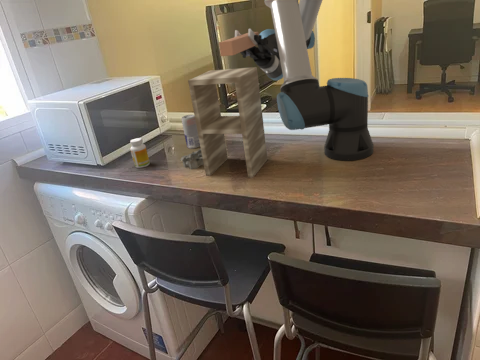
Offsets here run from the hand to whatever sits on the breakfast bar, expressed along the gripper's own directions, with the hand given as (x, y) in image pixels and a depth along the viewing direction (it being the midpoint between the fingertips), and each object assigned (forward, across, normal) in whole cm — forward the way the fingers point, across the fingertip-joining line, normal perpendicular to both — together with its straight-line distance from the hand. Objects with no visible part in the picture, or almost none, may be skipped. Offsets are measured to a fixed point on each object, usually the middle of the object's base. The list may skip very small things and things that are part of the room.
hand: (242, 33), depth 123 cm
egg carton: (-5, +16, -42) cm, 46 cm away
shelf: (-2, 0, -44) cm, 44 cm away
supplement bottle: (-2, +37, -44) cm, 57 cm away
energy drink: (-18, +26, -35) cm, 47 cm away
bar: (0, 0, -5) cm, 5 cm away
